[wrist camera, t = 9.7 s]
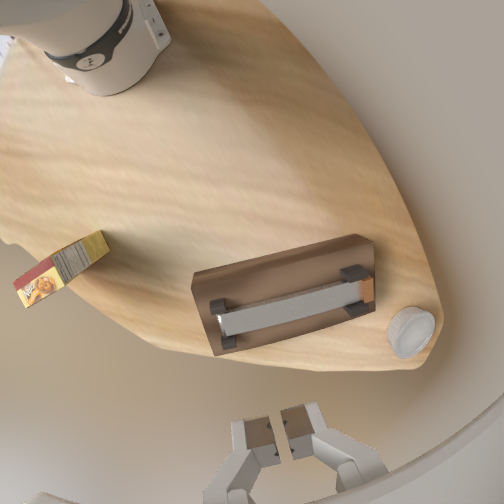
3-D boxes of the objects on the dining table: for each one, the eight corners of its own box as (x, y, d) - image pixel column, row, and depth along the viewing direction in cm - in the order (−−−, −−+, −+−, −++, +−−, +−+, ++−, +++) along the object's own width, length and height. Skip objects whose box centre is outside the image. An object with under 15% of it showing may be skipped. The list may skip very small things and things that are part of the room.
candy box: (74, 271, 39) (26, 311, 25) (63, 250, 38) (11, 282, 23) (111, 250, 39) (66, 287, 25) (100, 227, 38) (48, 254, 23)
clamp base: (194, 272, 42) (188, 298, 33) (354, 233, 43) (384, 247, 35) (214, 335, 45) (214, 369, 37) (359, 296, 47) (385, 319, 38)
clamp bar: (215, 309, 37) (214, 317, 35) (366, 271, 38) (373, 276, 36) (222, 334, 38) (223, 342, 36) (367, 295, 39) (373, 301, 37)
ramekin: (396, 353, 53) (407, 366, 48) (373, 333, 50) (385, 346, 45) (428, 317, 52) (441, 327, 47) (409, 292, 49) (424, 302, 44)
